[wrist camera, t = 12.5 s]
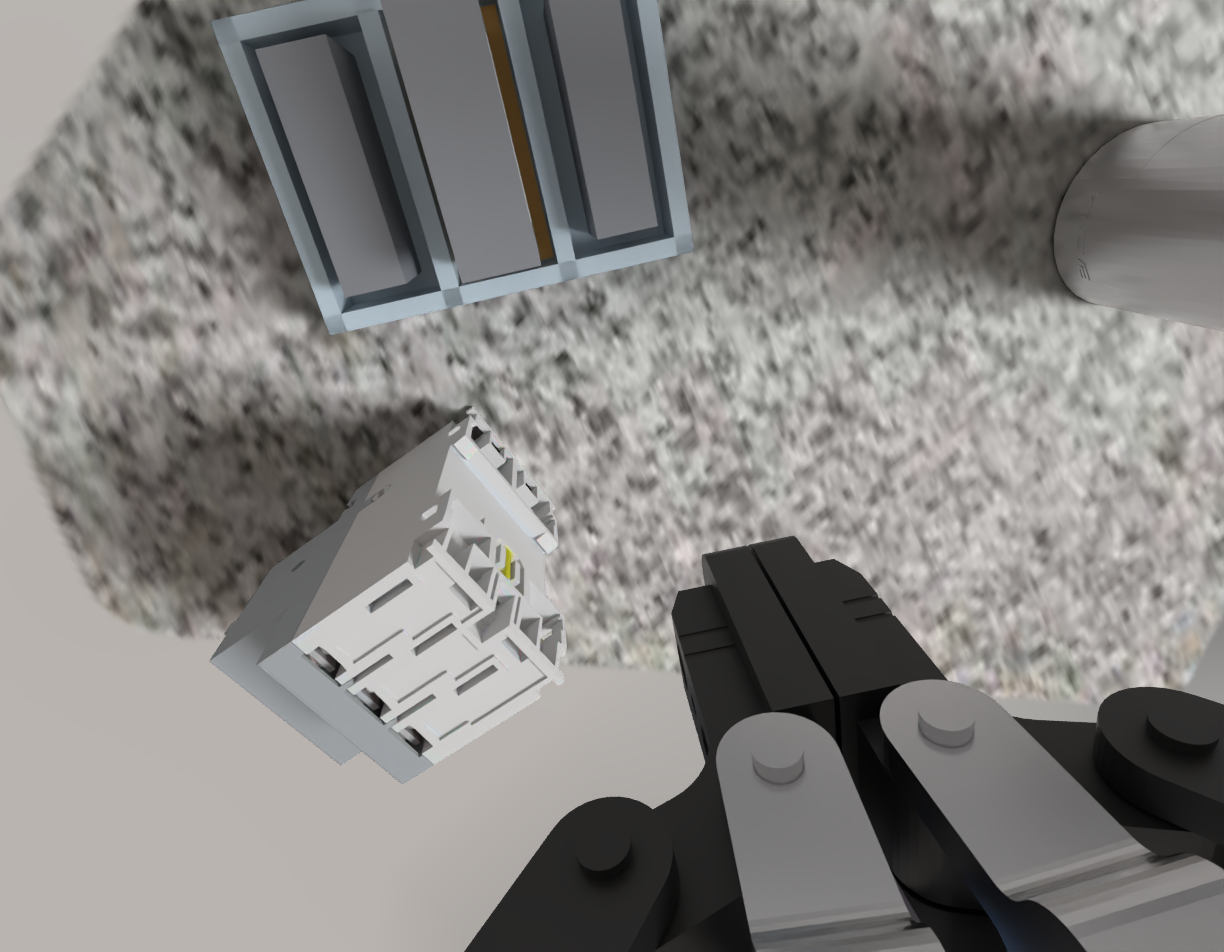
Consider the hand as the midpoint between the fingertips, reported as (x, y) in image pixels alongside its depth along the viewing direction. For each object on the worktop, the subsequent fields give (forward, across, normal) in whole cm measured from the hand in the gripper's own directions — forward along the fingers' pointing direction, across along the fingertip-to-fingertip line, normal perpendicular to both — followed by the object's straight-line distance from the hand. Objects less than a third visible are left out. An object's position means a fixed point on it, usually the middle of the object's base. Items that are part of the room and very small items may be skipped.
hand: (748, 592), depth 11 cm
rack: (+26, +4, -8) cm, 28 cm away
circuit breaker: (+26, +13, +10) cm, 31 cm away
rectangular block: (+25, +4, -8) cm, 27 cm away
